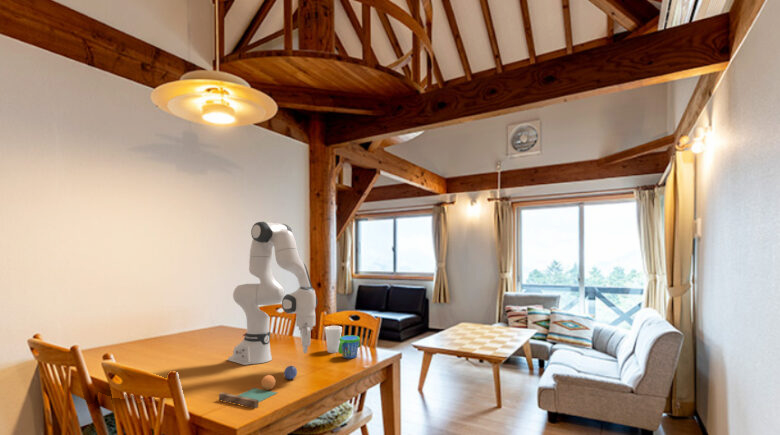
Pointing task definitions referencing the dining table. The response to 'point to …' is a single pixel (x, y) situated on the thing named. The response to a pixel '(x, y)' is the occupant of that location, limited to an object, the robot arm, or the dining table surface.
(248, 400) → the rail
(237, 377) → the dining table surface
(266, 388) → the orange ball
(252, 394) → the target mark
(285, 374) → the blue ball
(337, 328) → the foam cup
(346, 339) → the snack cup
